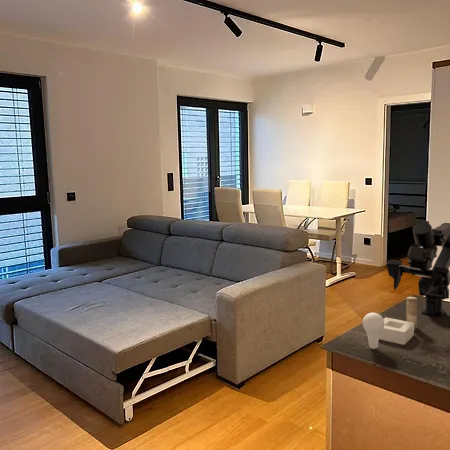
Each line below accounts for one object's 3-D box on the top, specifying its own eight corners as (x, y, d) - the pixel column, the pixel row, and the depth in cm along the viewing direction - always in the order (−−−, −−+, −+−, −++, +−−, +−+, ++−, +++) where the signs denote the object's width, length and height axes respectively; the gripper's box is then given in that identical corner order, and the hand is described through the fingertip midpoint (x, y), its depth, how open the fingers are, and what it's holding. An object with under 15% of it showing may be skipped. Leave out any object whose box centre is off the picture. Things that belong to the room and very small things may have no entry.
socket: (385, 329, 148) (385, 317, 147) (413, 335, 142) (414, 322, 142) (374, 338, 141) (374, 326, 141) (404, 344, 135) (404, 332, 135)
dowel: (407, 325, 150) (408, 296, 149) (417, 327, 148) (418, 297, 147) (404, 328, 148) (405, 298, 146) (414, 330, 146) (415, 300, 144)
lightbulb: (385, 353, 130) (386, 317, 129) (363, 352, 132) (363, 316, 130) (382, 344, 136) (383, 309, 134) (361, 344, 137) (361, 309, 136)
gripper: (392, 235, 150) (375, 268, 142) (453, 242, 139) (438, 279, 130) (397, 259, 157) (381, 292, 148) (456, 267, 145) (442, 304, 136)
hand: (409, 291), depth 141 cm, fingers open, 9 cm apart
